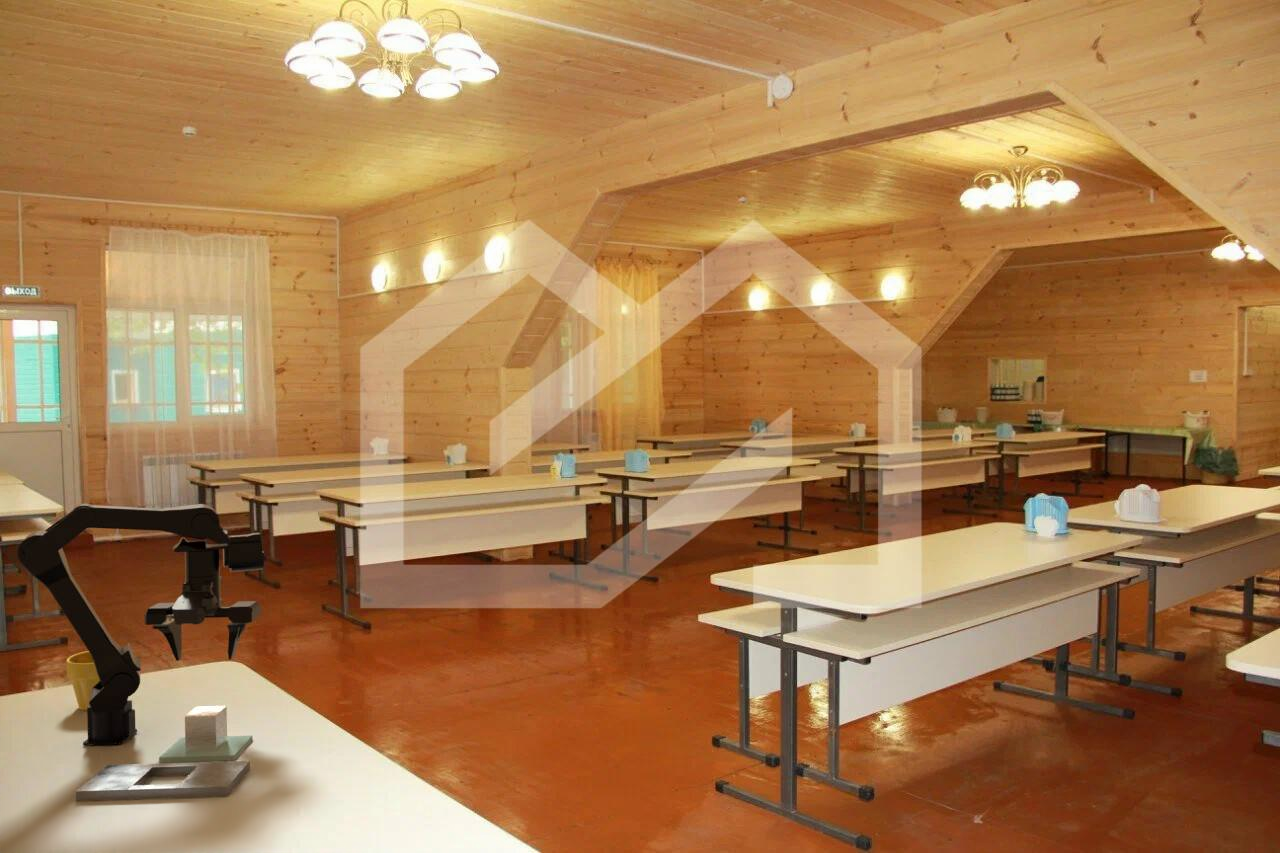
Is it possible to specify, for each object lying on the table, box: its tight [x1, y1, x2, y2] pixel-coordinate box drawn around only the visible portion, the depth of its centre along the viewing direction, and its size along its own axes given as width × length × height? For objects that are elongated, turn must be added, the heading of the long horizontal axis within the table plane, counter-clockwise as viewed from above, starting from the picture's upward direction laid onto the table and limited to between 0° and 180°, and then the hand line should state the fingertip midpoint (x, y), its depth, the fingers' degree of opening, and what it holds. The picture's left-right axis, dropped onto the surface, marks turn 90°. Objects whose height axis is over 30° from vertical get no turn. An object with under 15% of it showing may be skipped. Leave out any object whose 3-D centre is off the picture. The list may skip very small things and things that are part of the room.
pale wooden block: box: [184, 705, 228, 752], centre depth 163 cm, size 5×5×6 cm
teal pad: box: [158, 735, 253, 763], centre depth 163 cm, size 12×9×1 cm
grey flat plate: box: [75, 760, 251, 802], centre depth 149 cm, size 22×10×2 cm, turn 94°
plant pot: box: [65, 650, 100, 712], centre depth 186 cm, size 10×10×10 cm
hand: (204, 659), depth 175 cm, fingers open, 9 cm apart
